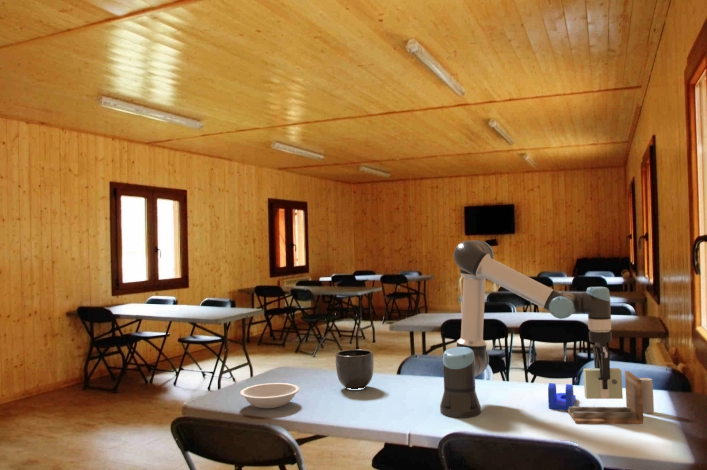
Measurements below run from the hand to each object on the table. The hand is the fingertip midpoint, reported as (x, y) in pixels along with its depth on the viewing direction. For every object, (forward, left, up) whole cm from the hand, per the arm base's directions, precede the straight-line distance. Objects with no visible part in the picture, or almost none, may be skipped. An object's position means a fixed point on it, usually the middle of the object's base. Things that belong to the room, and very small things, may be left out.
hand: (603, 396), depth 204 cm
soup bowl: (-126, +10, -8) cm, 127 cm away
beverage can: (+17, +8, -8) cm, 20 cm away
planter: (-96, +39, -8) cm, 104 cm away
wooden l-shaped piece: (0, 0, -8) cm, 8 cm away
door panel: (0, 0, 0) cm, 0 cm away
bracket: (-10, +18, -8) cm, 22 cm away
